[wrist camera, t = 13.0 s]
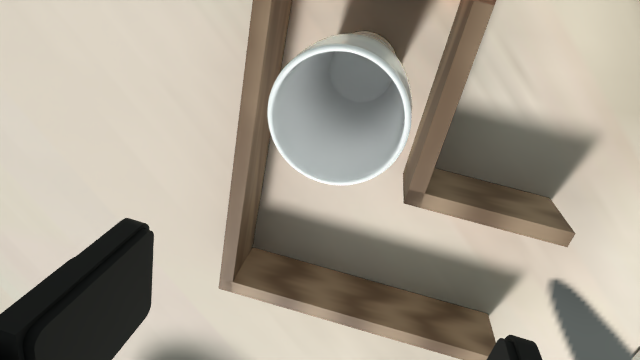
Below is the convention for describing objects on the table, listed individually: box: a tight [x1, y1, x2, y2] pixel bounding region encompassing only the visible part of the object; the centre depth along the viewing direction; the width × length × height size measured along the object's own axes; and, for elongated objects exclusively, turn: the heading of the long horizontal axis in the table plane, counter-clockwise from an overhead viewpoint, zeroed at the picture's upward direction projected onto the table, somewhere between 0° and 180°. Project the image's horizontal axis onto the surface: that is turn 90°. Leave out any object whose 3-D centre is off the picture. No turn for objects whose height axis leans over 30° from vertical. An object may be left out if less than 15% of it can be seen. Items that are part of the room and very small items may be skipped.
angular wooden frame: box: [219, 0, 575, 360], centre depth 32 cm, size 25×28×6 cm
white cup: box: [267, 31, 412, 185], centre depth 25 cm, size 7×7×15 cm
